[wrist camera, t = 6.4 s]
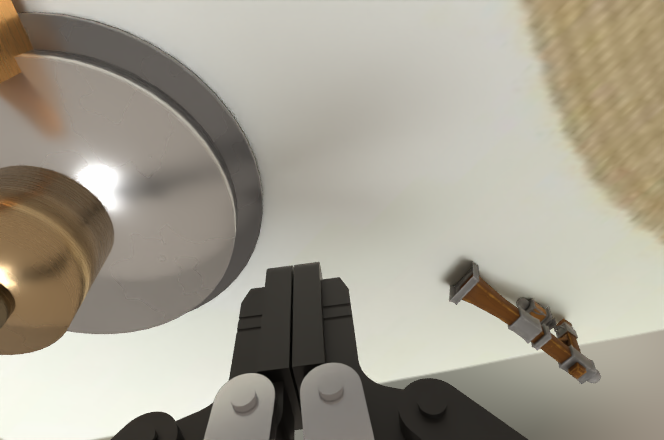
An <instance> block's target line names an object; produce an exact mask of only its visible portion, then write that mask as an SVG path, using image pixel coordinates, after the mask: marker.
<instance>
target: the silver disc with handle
mask: <svg viewBox="0 0 664 440" xmlns="http://www.w3.org/2000/svg"><path fill="white" fill-rule="evenodd" d="M18 165H24V166H35V167H41V168H45V169H49V170H53V171H55V172H58V173H61V174H63V175H65V176H67V177H69V178H71V179H73V180H75V181H76V182H78V183H80V184H81V185H83V186H84V187H85V188H87V189H88V190H89V191H90V192H91V193H92V194H93V195H95V196H96V198H97V199H98V200H99V201H100V202H101V203H102V205H103V206H104V208H105V209H106V210H107V212H108V214H109V216H110V218H111V221H112V224H113V229H114V243H113V247H112V250H111V252H110V254H109V256H108V258H107V259H106V261H105V263H104V265H103V266H102V268H101V270H100V272H99V274H98V275H97V277H96V279H95V281H94V283H93V284H92V286H91V288H90V290H89V292H88V293H87V295H86V297H85V299H84V300H83V302H82V304H81V306H80V308H79V309H78V311H77V313H76V315H75V317H74V318H73V320H72V322H71V324H70V326H69V327H68V329H67V331H70V332H77V333H89V334H116V333H127V332H134V331H139V330H144V329H149V328H152V327H155V326H159V325H162V324H165V323H167V322H169V321H172V320H174V319H176V318H178V317H180V316H182V315H184V314H185V313H187V312H189V311H191V310H192V309H193V308H195V307H196V306H197V305H198V304H200V303H201V302H202V301H204V299H205V298H206V297H207V296H208V295H209V294H210V293H211V292H212V291H213V290H214V289H215V287H216V286H217V285H218V283H219V282H220V280H221V279H222V277H223V275H224V273H225V271H226V269H227V267H228V265H229V262H230V259H231V255H232V252H233V247H234V242H235V236H236V229H237V221H238V209H237V198H236V193H235V187H234V184H233V181H232V178H231V175H230V172H229V169H228V167H227V165H226V163H225V161H224V159H223V157H222V155H221V153H220V151H219V150H218V148H217V147H216V145H215V144H214V142H213V141H212V139H211V138H210V136H209V135H208V133H207V132H206V131H205V130H204V129H203V127H202V126H201V125H200V124H199V123H198V122H197V121H196V119H195V118H194V117H193V116H192V115H191V114H190V113H189V112H187V111H186V110H185V109H184V108H183V107H182V106H181V105H180V104H179V103H178V102H177V101H175V100H174V99H173V98H171V97H170V96H169V95H167V94H166V93H164V92H163V91H162V90H160V89H159V88H158V87H156V86H154V85H153V84H151V83H149V82H148V81H146V80H144V79H142V78H141V77H139V76H137V75H135V74H133V73H131V72H129V71H127V70H124V69H122V68H120V67H118V66H115V65H113V64H111V63H108V62H105V61H101V60H98V59H95V58H92V57H89V56H86V55H80V54H75V53H70V52H65V51H59V50H45V49H33V47H32V45H31V42H30V40H29V38H28V36H27V34H26V31H25V29H24V27H23V25H22V23H21V20H20V18H19V16H18V14H17V12H16V10H15V7H14V5H13V3H12V1H11V0H0V168H3V167H8V166H18Z"/></svg>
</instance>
